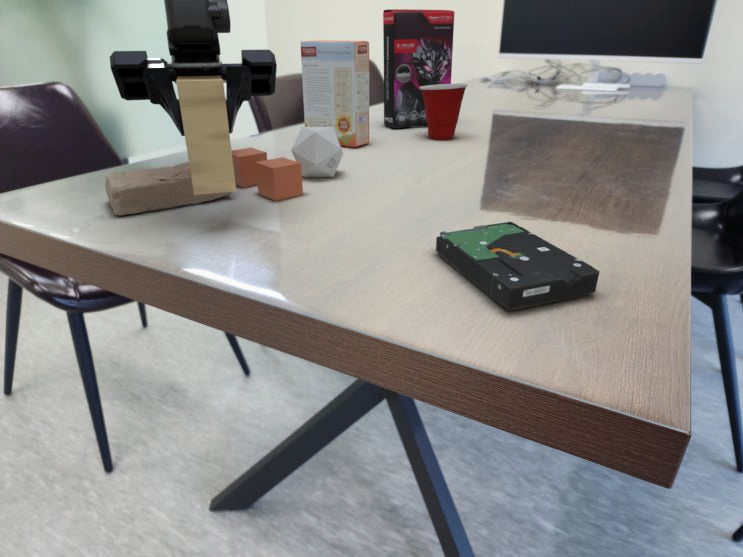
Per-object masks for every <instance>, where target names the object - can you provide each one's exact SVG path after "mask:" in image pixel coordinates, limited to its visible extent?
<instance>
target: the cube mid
mask: <svg viewBox="0 0 743 557" xmlns="http://www.w3.org/2000/svg"><path fill="white" fill-rule="evenodd" d="M255 164H256V174H257V184H258V185H257V193H258V195H260V196H262V197H264V198H267V199H270V200H272V201H275V202H278V201H282V200H286V199H290V198H295V197H298V196H299V197H300V196H303V195H304V188H303V176H302V170H301V163H300V162H297V161H296V160H294V159H290V158H288V157H287V158H286V157H283V156H281V157H276V158H271V159H267V160H264V161H259V162H255Z"/></svg>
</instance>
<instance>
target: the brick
mask: <svg viewBox="0 0 743 557" xmlns="http://www.w3.org/2000/svg"><path fill="white" fill-rule="evenodd" d="M104 185H105V192H106V195H107V198H108V203H109V207H110V208H112V213H113V214H114V215H115V216H128V215H135V214H139V213H146V212H152V211H159V210H165V209H173V208H176V207H180V206H189V205H198V204H201V203H204V202H208V201H214V200H216V199H220V198H223V197H227V196H228V195H230V194H231V193H232V192H224V193H212V194H201V195H194V191H193V184H192V178H191V172H190V166H189V161H188V162H182V163H179V164H176V165H173V166H165V167H164V166H162V167H160V166H159V167H154V168H140V169H133V170H129V171H121V172H116V173H115V172H113V173H108V174H107V175H106V176H105V183H104Z"/></svg>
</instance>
